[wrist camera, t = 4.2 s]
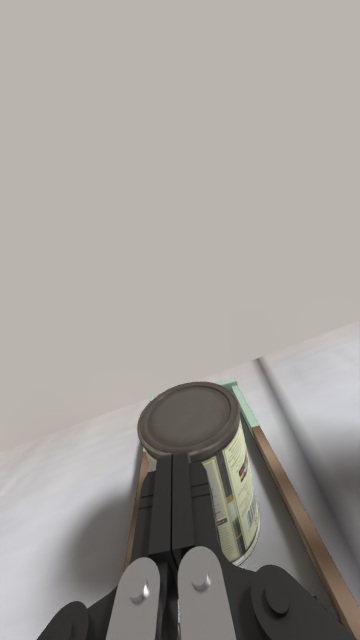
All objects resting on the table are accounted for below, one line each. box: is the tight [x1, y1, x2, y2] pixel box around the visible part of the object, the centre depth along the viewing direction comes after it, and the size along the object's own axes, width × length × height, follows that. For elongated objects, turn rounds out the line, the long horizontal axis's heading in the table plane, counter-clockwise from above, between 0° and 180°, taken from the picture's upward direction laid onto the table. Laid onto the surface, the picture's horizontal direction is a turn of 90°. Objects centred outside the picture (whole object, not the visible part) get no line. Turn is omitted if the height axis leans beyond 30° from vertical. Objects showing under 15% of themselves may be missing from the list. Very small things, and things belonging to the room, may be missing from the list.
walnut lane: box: [123, 426, 360, 640], centre depth 24 cm, size 42×18×2 cm, turn 2°
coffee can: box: [137, 382, 260, 566], centre depth 23 cm, size 10×10×14 cm
